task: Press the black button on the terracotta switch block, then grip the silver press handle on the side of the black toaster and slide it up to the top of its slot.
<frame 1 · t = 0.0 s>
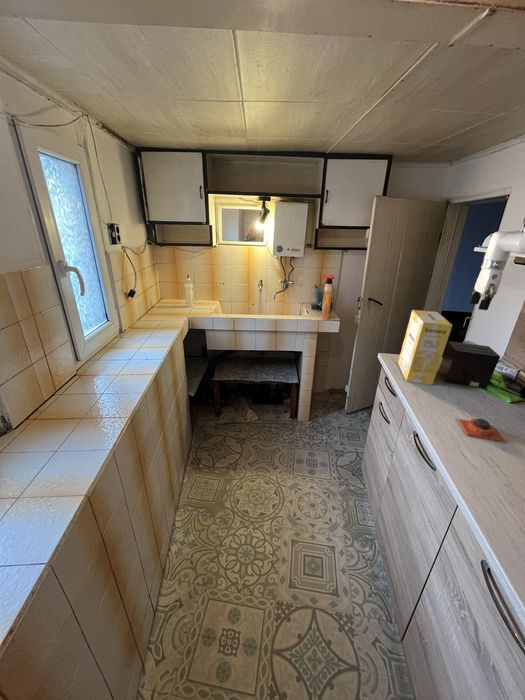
hand: (478, 306, 119), 33 cm above the counter, tool pointing down, fingers open, 9 cm apart
soda can: (461, 367, 139), on the counter
switch block: (478, 432, 95), on the counter
toaster: (460, 380, 127), on the counter
button: (482, 424, 94), point 3 cm above the counter, slide at 0.1 cm
pasta box: (413, 374, 131), on the counter
press handle: (471, 380, 117), point 5 cm above the counter, slide at 0.0 cm
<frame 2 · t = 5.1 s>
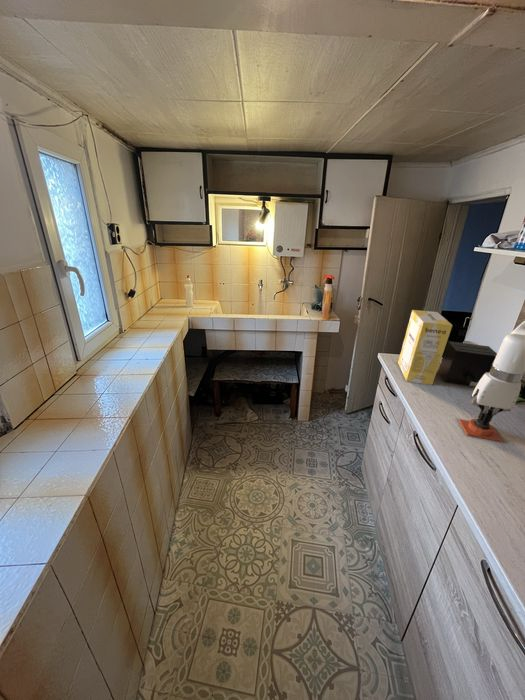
hand: (482, 421, 93), 4 cm above the counter, tool pointing down, fingers closed
button: (482, 424, 94), point 3 cm above the counter, slide at 0.1 cm, touching gripper
everything else where it was.
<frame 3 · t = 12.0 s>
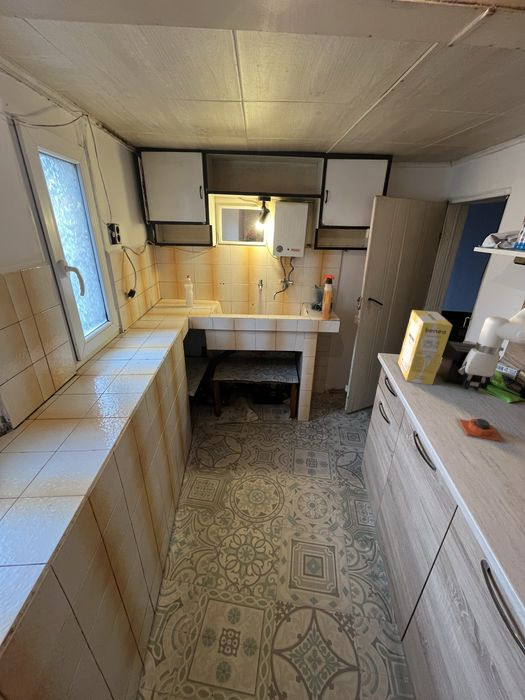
hand: (470, 388, 117), 2 cm above the counter, tool pointing down, fingers closed on press handle, 3 cm apart
button: (482, 424, 94), point 3 cm above the counter, slide at 0.1 cm
press handle: (471, 380, 117), point 5 cm above the counter, slide at 0.0 cm, touching gripper
everything else where it was.
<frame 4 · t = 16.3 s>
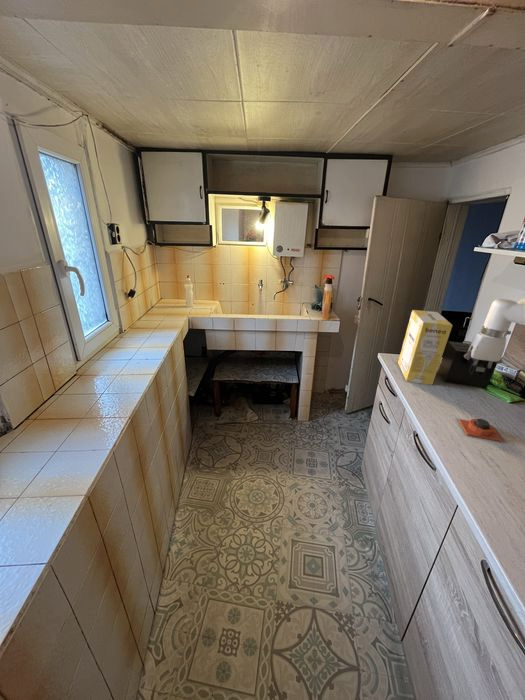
hand: (476, 373, 114), 9 cm above the counter, tool pointing down, fingers closed on press handle, 3 cm apart
press handle: (477, 366, 114), point 12 cm above the counter, slide at 6.8 cm, touching gripper
everything else where it was.
at the end: button pushed in 1.1 cm at the most during the clip, back to where it started at the end; button slide at 0.1 cm; press handle slide at 6.8 cm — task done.
